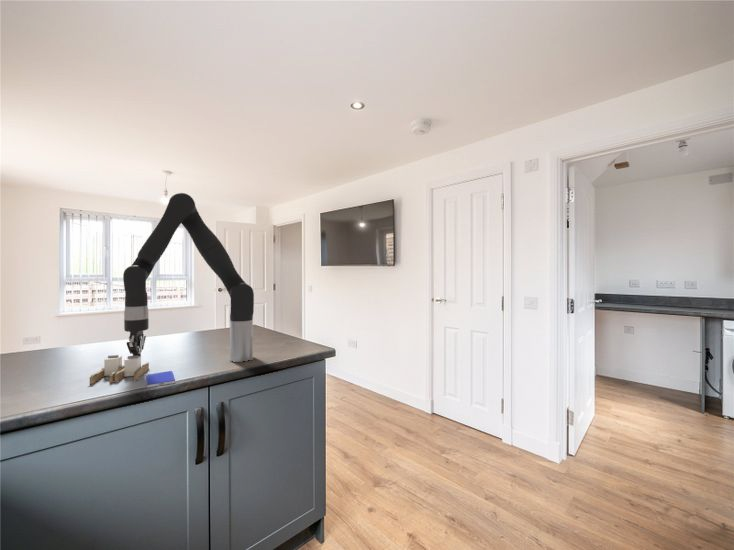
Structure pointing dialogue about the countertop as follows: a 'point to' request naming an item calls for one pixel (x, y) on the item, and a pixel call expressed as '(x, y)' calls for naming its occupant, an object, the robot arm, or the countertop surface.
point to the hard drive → (160, 379)
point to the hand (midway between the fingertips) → (136, 363)
